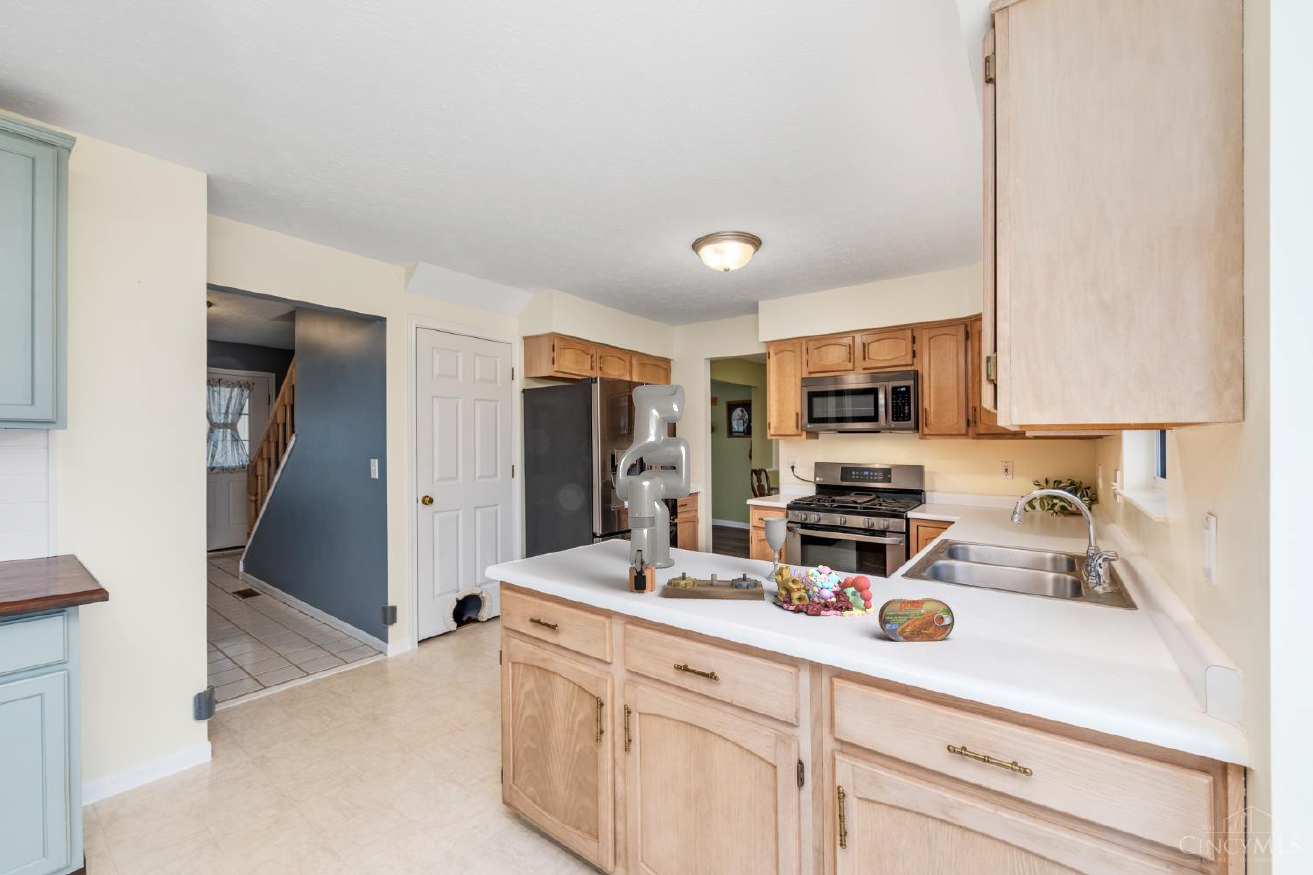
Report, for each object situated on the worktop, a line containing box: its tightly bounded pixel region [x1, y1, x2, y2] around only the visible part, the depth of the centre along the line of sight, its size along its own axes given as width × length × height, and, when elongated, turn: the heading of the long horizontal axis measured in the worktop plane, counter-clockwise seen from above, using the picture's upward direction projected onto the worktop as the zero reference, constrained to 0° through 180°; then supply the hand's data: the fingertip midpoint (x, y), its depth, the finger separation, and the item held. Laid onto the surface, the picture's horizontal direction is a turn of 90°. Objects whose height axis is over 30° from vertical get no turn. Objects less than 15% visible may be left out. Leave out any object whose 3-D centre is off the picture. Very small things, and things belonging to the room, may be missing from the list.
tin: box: [877, 597, 955, 643], centre depth 118 cm, size 15×3×8 cm, turn 91°
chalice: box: [762, 516, 789, 583], centre depth 168 cm, size 7×7×18 cm
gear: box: [628, 565, 656, 594], centre depth 159 cm, size 7×7×6 cm
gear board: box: [663, 572, 765, 601], centre depth 155 cm, size 12×26×5 cm, turn 83°
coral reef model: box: [772, 564, 877, 617], centre depth 145 cm, size 25×24×9 cm
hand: (642, 585), depth 159 cm, fingers closed on gear, 7 cm apart
